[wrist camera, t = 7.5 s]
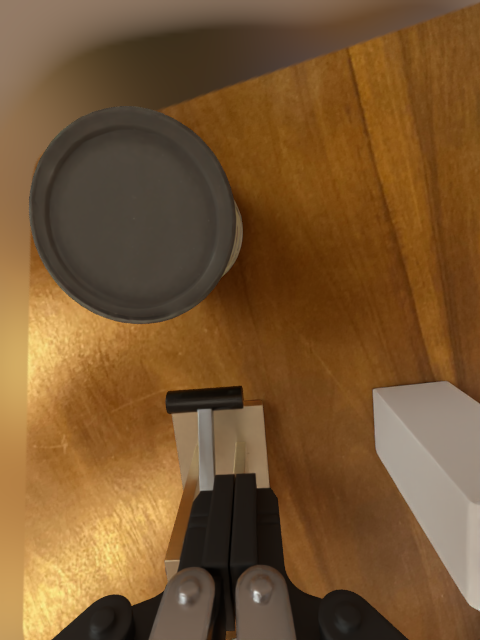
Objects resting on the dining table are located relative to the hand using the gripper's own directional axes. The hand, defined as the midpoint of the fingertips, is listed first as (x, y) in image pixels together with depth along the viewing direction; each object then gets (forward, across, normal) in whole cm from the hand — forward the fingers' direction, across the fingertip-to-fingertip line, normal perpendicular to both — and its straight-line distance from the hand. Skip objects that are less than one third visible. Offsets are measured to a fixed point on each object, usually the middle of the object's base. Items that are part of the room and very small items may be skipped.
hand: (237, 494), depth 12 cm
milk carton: (+20, -16, +9) cm, 27 cm away
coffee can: (+21, +5, -10) cm, 24 cm away
